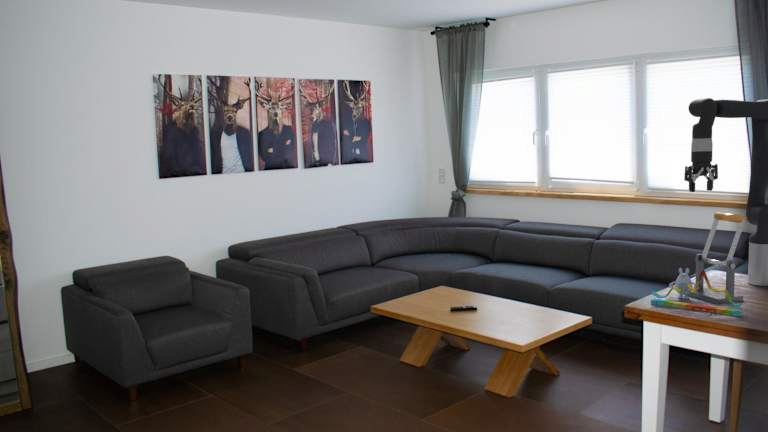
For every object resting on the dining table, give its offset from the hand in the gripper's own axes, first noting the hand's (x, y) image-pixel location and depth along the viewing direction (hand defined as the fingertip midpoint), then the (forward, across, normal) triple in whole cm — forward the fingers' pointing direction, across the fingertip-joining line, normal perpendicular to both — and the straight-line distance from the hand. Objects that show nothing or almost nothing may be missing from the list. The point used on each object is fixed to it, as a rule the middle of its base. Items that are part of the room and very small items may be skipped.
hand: (700, 191), depth 270 cm
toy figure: (+40, +14, +7) cm, 43 cm away
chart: (+41, +22, +22) cm, 51 cm away
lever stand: (+40, +4, +12) cm, 42 cm away
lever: (+26, +4, +12) cm, 29 cm away
